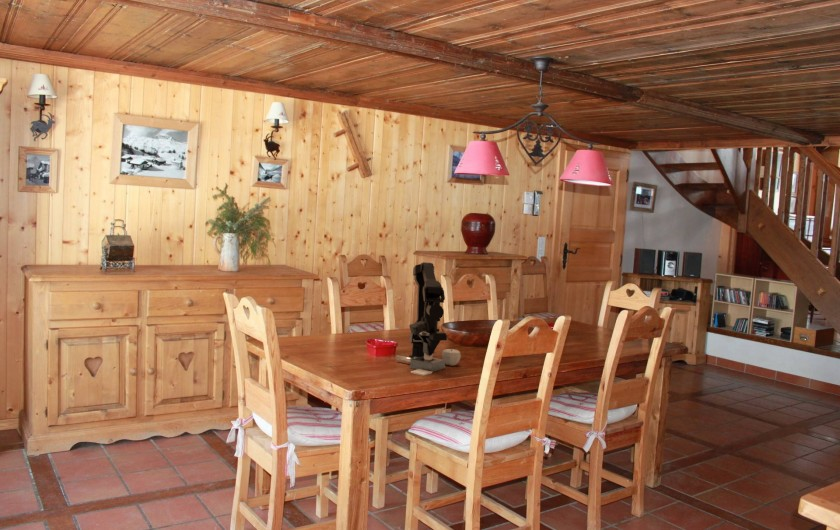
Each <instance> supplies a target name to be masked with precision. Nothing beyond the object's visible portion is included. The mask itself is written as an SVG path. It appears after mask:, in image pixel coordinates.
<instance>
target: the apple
mask: <svg viewBox="0 0 840 530" xmlns="http://www.w3.org/2000/svg"><path fill="white" fill-rule="evenodd" d="M461 357H462V355H461V351H460V350H458V349H454V348H447V349H443V350H442V352H441V359H443V360H445V366H451V367H452V366H456V365H458V363H460V360H461Z"/></svg>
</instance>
